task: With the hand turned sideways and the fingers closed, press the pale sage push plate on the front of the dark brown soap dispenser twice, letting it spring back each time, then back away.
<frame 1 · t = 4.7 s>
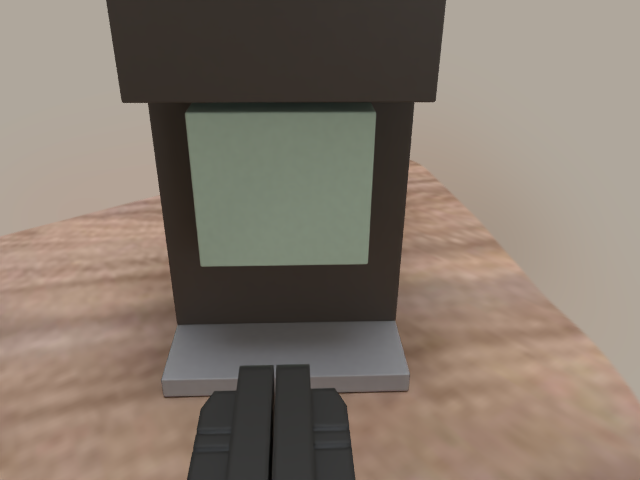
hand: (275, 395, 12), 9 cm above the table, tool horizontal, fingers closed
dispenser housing: (287, 305, 32), on the table
push plate: (283, 187, 23), point 9 cm above the table, slide at -0.1 cm
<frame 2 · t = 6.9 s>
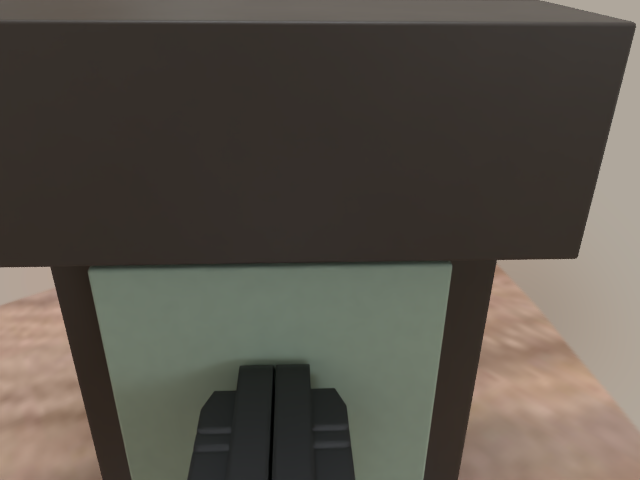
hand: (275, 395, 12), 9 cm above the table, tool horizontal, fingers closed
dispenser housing: (286, 472, 22), on the table
push plate: (277, 373, 13), point 9 cm above the table, slide at 0.1 cm, touching gripper
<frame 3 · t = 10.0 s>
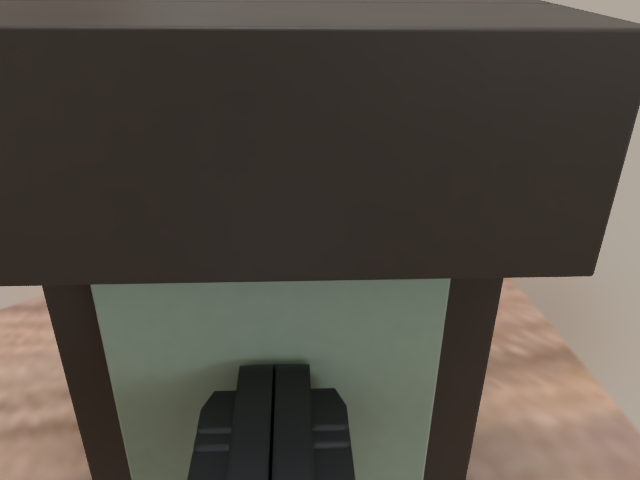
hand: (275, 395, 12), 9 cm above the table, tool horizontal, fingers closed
push plate: (277, 373, 13), point 9 cm above the table, slide at 0.6 cm, touching gripper
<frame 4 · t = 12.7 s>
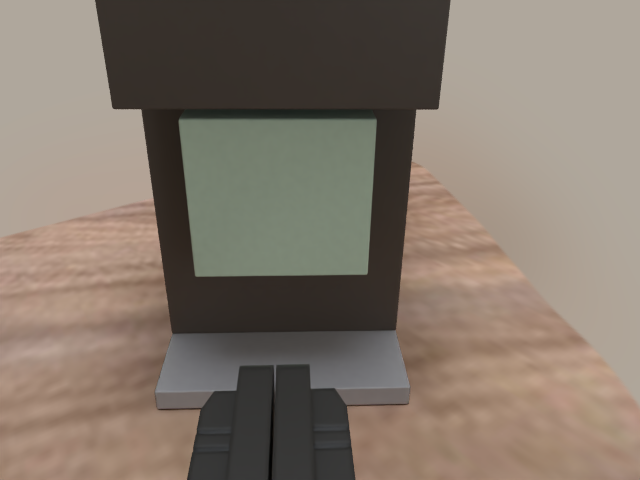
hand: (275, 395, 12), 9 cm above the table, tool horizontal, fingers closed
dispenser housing: (285, 313, 31), on the table
push plate: (280, 195, 22), point 9 cm above the table, slide at -0.1 cm
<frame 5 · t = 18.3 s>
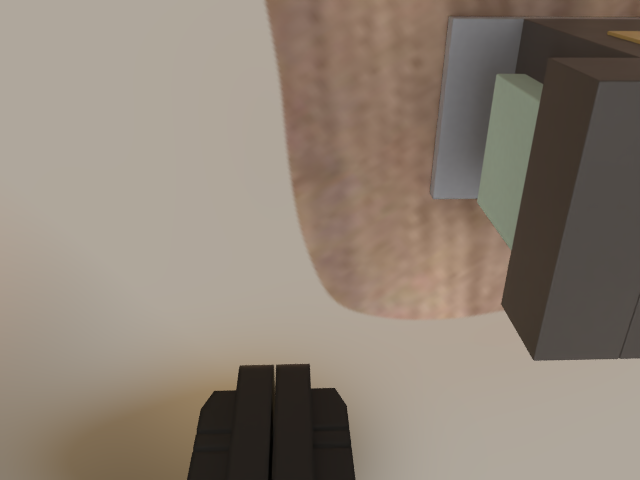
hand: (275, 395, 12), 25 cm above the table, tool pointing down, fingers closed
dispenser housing: (549, 111, 35), on the table
push plate: (521, 162, 27), point 9 cm above the table, slide at -0.1 cm
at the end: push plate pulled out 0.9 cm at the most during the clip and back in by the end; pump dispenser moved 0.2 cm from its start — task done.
